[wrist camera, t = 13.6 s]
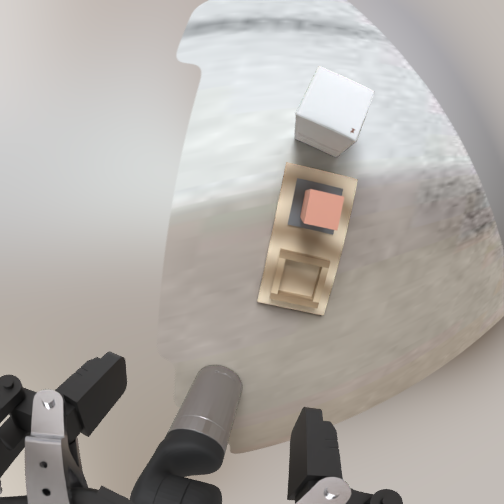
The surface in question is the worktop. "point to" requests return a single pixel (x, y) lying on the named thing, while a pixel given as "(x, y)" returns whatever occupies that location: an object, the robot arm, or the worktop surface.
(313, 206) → the block
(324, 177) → the board
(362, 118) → the supplement box
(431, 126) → the worktop surface
